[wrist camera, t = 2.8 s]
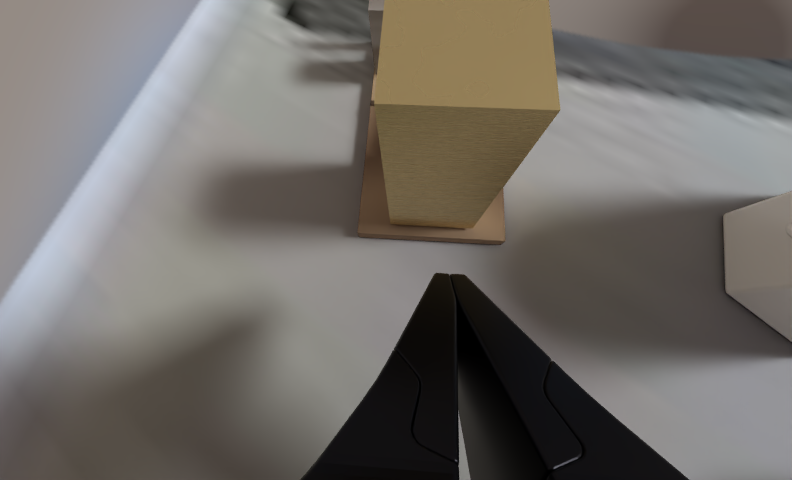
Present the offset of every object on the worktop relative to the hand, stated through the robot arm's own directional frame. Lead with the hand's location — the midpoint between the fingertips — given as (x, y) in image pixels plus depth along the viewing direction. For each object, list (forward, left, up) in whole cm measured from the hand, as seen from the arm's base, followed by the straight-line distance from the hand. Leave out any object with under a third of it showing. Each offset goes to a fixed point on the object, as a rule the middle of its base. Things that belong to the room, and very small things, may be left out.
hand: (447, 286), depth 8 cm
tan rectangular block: (+6, +6, -6) cm, 11 cm away
